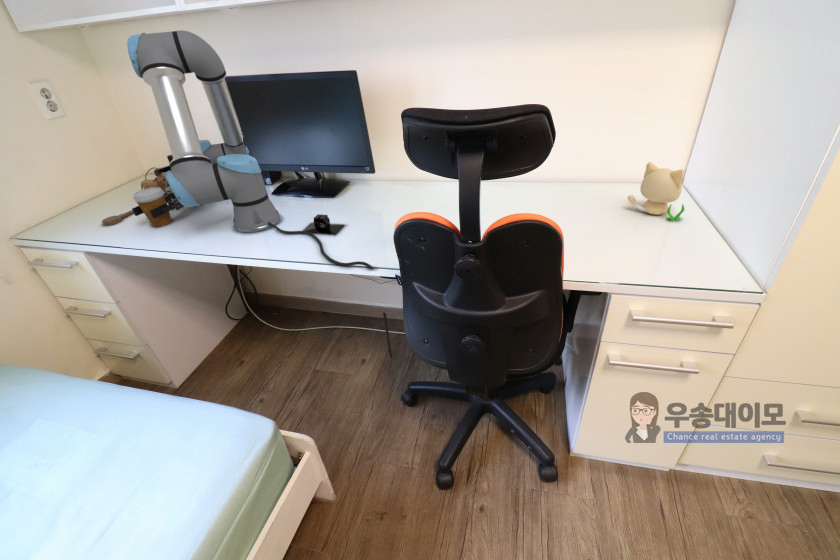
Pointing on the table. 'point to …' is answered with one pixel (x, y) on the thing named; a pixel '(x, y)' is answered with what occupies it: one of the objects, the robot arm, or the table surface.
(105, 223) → the spoon
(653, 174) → the kitten
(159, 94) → the robot arm
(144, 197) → the disposable coffee cup
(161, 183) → the lion figurine
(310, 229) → the build plate
